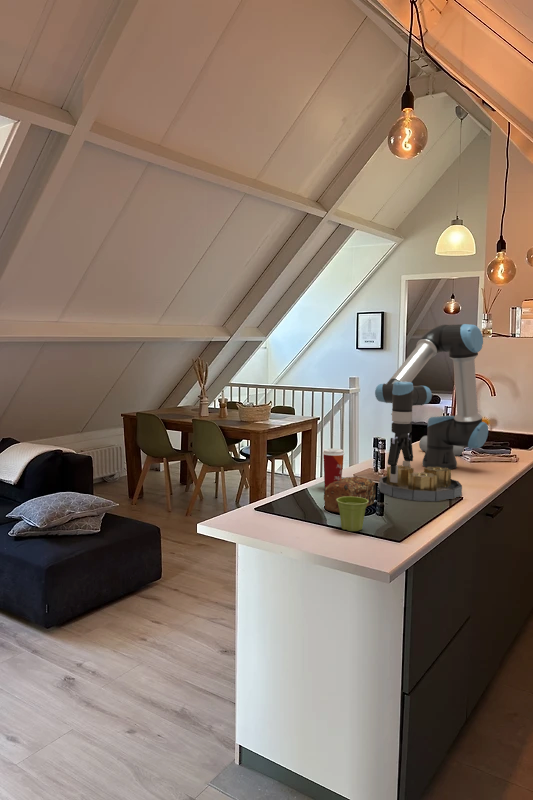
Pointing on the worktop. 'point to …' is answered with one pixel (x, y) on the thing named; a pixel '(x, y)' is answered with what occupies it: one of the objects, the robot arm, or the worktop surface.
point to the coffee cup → (332, 465)
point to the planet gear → (401, 475)
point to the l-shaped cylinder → (423, 446)
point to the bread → (348, 491)
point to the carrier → (420, 491)
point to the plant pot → (352, 512)
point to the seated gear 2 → (440, 475)
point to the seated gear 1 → (422, 481)
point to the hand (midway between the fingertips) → (400, 479)
